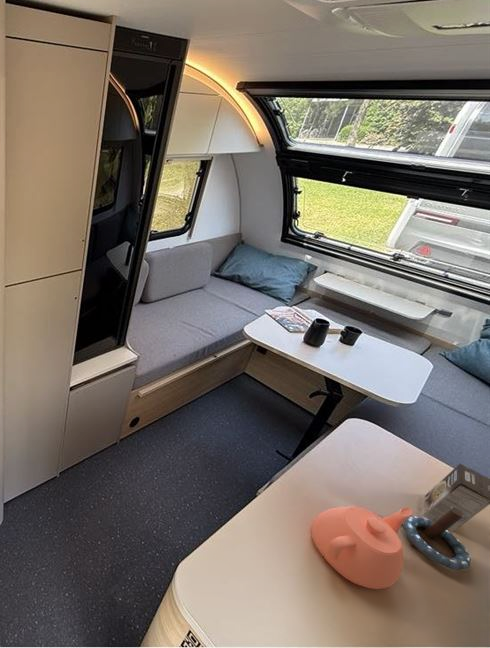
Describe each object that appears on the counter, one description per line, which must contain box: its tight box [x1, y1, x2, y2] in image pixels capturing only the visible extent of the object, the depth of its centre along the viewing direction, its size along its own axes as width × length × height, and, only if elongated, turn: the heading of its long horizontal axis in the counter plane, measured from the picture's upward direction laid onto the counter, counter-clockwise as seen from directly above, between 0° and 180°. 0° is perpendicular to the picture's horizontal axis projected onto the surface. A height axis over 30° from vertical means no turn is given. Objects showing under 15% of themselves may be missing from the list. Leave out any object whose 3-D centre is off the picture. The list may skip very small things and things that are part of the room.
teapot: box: [310, 506, 413, 590], centre depth 86 cm, size 25×17×13 cm
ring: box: [402, 515, 472, 571], centre depth 91 cm, size 12×12×2 cm
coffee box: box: [422, 463, 490, 533], centre depth 96 cm, size 9×6×16 cm
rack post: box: [401, 507, 464, 558], centre depth 91 cm, size 9×9×12 cm
